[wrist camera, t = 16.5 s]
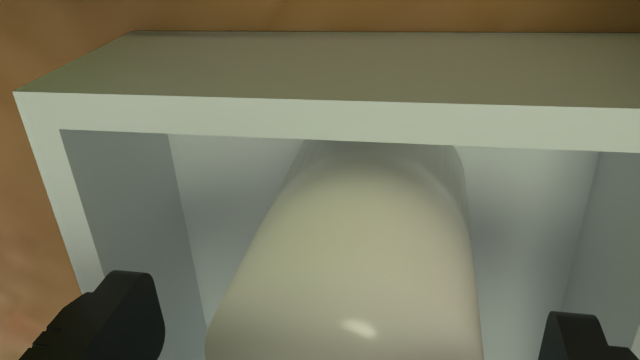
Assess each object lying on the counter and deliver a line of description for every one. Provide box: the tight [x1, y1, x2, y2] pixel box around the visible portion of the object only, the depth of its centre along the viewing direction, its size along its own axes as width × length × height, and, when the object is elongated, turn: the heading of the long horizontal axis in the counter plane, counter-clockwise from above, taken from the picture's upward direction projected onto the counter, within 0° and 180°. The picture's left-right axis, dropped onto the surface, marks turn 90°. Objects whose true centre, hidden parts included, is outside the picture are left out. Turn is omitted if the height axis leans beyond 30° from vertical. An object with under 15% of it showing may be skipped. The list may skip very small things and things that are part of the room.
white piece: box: [205, 139, 484, 360], centre depth 12 cm, size 5×5×7 cm
